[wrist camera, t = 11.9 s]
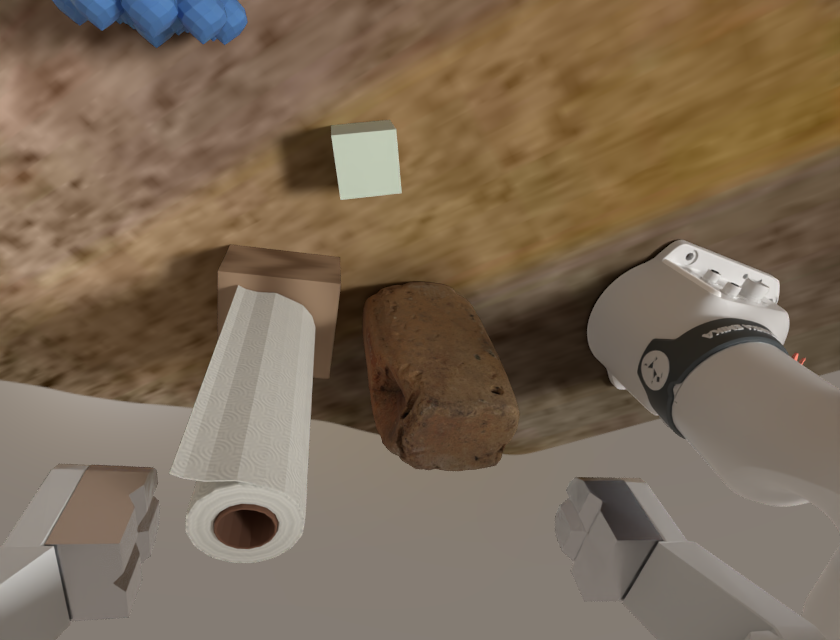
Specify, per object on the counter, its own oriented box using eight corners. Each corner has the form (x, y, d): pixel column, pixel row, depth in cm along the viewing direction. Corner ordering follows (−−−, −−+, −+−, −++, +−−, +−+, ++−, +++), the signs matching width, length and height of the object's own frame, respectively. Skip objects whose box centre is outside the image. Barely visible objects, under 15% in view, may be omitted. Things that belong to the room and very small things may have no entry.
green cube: (389, 119, 44) (396, 129, 39) (395, 178, 46) (401, 193, 42) (331, 125, 43) (331, 135, 39) (339, 184, 46) (340, 199, 41)
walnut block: (339, 257, 49) (340, 283, 44) (329, 345, 54) (329, 378, 48) (230, 244, 47) (217, 271, 42) (228, 337, 51) (217, 371, 46)
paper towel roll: (317, 353, 47) (309, 560, 28) (249, 356, 46) (194, 573, 28) (312, 281, 43) (298, 465, 25) (238, 284, 42) (167, 476, 24)
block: (469, 283, 53) (536, 406, 35) (454, 345, 56) (508, 484, 39) (364, 272, 50) (382, 398, 33) (355, 337, 54) (366, 481, 36)
